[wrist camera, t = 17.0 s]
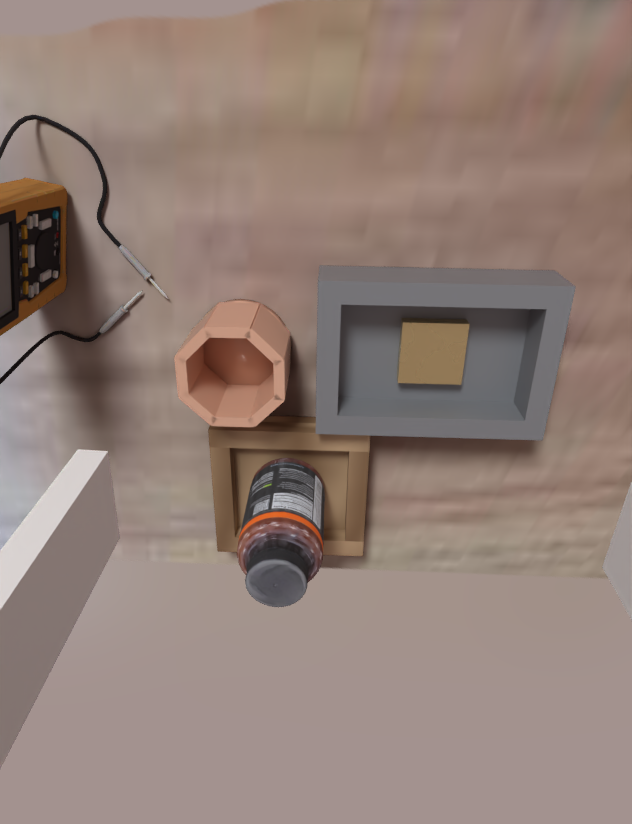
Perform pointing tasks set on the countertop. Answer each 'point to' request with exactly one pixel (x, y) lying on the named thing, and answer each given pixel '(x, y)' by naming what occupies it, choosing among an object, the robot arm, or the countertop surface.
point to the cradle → (484, 360)
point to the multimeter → (40, 247)
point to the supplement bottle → (282, 531)
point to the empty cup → (235, 364)
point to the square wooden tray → (294, 438)
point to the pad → (432, 350)
